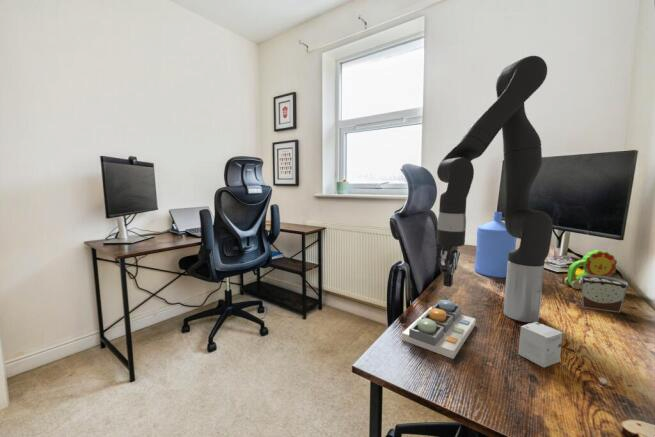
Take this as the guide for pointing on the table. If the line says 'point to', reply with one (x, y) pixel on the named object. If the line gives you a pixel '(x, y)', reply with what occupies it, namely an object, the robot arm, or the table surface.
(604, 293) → the food container
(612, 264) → the toy lion
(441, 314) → the orange button
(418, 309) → the table surface
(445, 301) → the slate blue button
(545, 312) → the table surface
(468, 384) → the table surface
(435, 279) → the table surface
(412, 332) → the button panel
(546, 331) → the skincare box
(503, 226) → the water jug
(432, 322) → the sage green button
